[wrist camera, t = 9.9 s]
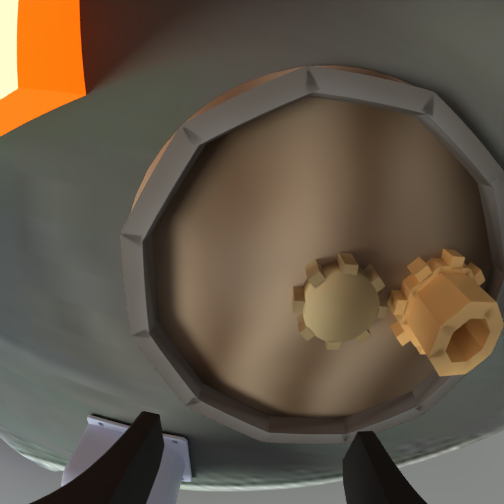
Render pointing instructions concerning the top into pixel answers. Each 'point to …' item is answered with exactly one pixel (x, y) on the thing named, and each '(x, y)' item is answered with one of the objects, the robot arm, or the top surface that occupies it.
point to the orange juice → (38, 58)
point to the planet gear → (446, 313)
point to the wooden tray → (305, 250)
